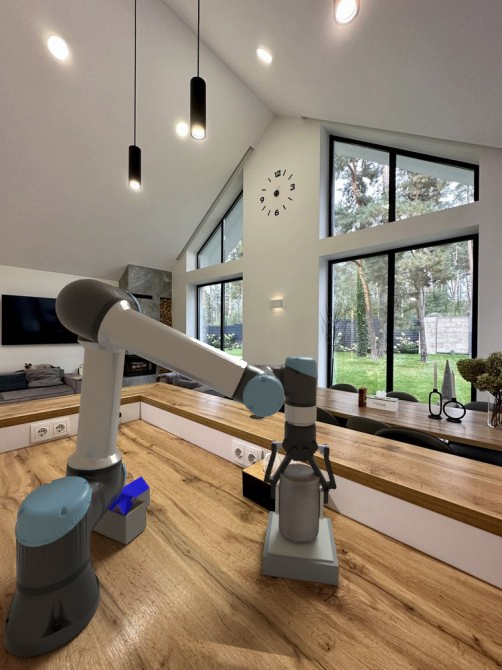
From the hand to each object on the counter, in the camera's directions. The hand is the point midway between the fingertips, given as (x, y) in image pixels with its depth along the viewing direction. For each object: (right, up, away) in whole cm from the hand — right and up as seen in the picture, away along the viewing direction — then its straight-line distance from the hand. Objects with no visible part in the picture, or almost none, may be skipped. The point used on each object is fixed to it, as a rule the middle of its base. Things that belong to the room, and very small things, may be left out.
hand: (298, 513), depth 70 cm
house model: (-51, -9, +14) cm, 53 cm away
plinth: (0, -9, 0) cm, 9 cm away
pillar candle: (0, -4, 0) cm, 4 cm away
